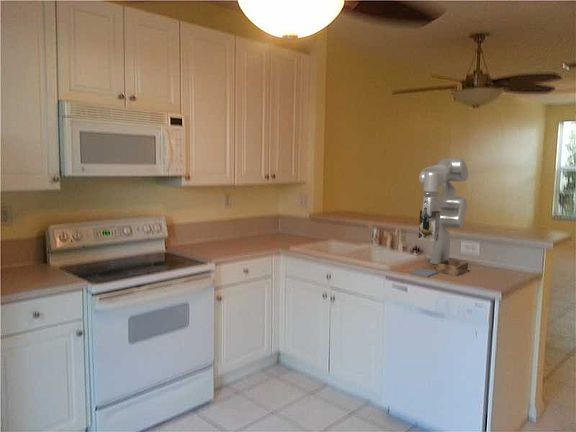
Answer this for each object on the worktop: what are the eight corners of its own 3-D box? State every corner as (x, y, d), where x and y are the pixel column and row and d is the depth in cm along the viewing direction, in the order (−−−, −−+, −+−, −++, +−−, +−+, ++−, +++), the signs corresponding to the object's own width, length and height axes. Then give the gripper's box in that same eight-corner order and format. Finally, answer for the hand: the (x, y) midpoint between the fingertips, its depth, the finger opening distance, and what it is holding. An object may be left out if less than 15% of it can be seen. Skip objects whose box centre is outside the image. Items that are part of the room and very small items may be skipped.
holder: (435, 272, 245) (436, 263, 244) (446, 268, 255) (446, 259, 255) (457, 276, 237) (458, 266, 236) (467, 271, 247) (468, 262, 246)
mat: (410, 273, 240) (410, 272, 240) (420, 270, 249) (420, 268, 249) (427, 277, 233) (428, 275, 233) (437, 273, 242) (437, 271, 242)
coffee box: (417, 240, 240) (419, 210, 238) (422, 238, 245) (424, 209, 243) (434, 242, 234) (435, 211, 232) (439, 240, 239) (440, 210, 237)
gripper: (429, 195, 228) (427, 230, 230) (444, 195, 240) (442, 227, 242) (416, 195, 233) (414, 228, 235) (431, 194, 246) (430, 226, 247)
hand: (428, 228), depth 239 cm, fingers closed on coffee box, 6 cm apart
